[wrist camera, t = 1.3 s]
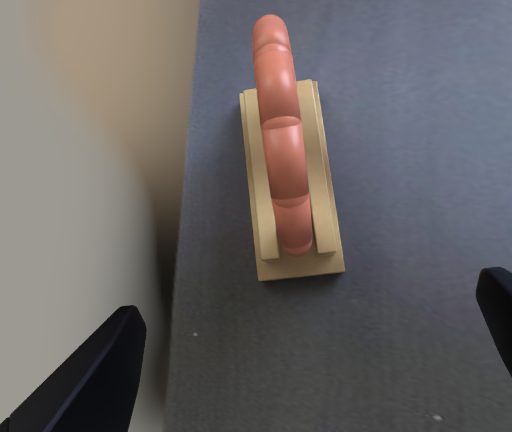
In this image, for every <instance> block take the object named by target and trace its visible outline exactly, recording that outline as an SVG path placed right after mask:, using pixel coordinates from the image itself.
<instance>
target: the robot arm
mask: <svg viewBox="0 0 512 432" xmlns="http://www.w3.org/2000/svg"><path fill="white" fill-rule="evenodd" d="M476 299H477V302H478V304H479V307H480V309H481V312H482V314H483V316H484V319H485V321H486V323H487V326H488V328H489V330H490V333H491V335H492V338H493V340H494V342H495V345H496V347H497V349H498V352H499V354H500V356H501V358H502V360H503V362H504V364H505V366H506V367H507V369H508V371H509V373H510V375H511V376H512V273H511V272H509V271H507V270H506V269H504V268H501V267H491V268H484V269H482V270H481V272H480V275H479V279H478V284H477V288H476ZM145 340H146V325H145V322H144V320H143V318H142V316H141V314H140V312H139V310H138V308H137V307H136V306H134V305H130V306H122V307H120V308H119V309H117V310H116V311H115V312H114V313H113V314H112V315H111V316H110V317H109V318H108V319H107V320H106V321H105V322H104V323H103V324H102V325H101V326H100V327H99V328H98V329H97V330H96V331H95V332H94V333H93V334H92V335H91V336H90V337H89V338H88V339H87V340H86V341H85V342H84V343H83V344H82V345H80V346H79V347H78V349H76V350H75V351H74V352H73V353H72V354H71V355H70V356H69V358H67V359H66V360H65V361H64V362H63V363H62V364H61V365H60V366H59V367H58V368H57V369H56V370H55V371H54V372H53V373H52V374H51V375H50V376H49V377H48V378H47V379H46V380H45V381H44V382H43V383H42V384H41V385H40V386H39V387H38V388H37V389H36V390H35V391H34V392H33V393H32V394H31V395H30V396H29V397H28V398H27V399H26V400H25V401H24V402H23V403H22V404H21V405H20V406H19V407H18V408H17V409H16V410H14V411H13V413H11V415H10V418H9V417H8V418H6V419H5V420H4V421H3V422H2V423H1V424H0V432H128V428H129V424H130V420H131V416H132V412H133V408H134V404H135V400H136V396H137V392H138V387H139V382H140V375H141V368H142V361H143V354H144V347H145Z"/></svg>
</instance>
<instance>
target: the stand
mask: <svg viewBox="0 0 512 432" xmlns="http://www.w3.org/2000/svg"><path fill="white" fill-rule="evenodd" d="M296 86H297V93H298V100H299V108H300V115H301V122H302V131H303V140H304V149H305V158H306V167H307V176H308V185H309V195H310V208H311V221H312V234H313V236H312V243H311V247H310V250H309V251H308V252H307V253H306V254H305V255H303V256H300V257H293V256H290V255H289V254H287V253H286V252H285V251H284V249H283V247H282V245H281V243H280V241H279V238H278V233H277V227H276V222H275V217H274V212H273V206H272V201H271V195H270V189H269V182H268V175H267V168H266V161H265V154H264V147H263V141H262V134H261V126H260V117H259V108H258V99H257V91H256V88H255V89H249V90H244V92H243V93H240V94H239V97H240V107H241V117H242V127H243V137H244V147H245V157H246V166H247V176H248V186H249V196H250V206H251V216H252V226H253V235H254V245H255V255H256V265H257V275H258V281H270V280H279V279H288V278H297V277H307V276H316V275H325V274H335V273H343V272H345V265H344V259H343V252H342V245H341V239H340V232H339V226H338V219H337V212H336V206H335V199H334V192H333V186H332V179H331V172H330V166H329V159H328V152H327V146H326V139H325V132H324V126H323V119H322V112H321V106H320V99H319V92H318V86H317V81H314V82H312V80H311V79H309V80H303V81H297V82H296Z"/></svg>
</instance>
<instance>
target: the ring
mask: <svg viewBox="0 0 512 432" xmlns="http://www.w3.org/2000/svg"><path fill="white" fill-rule="evenodd" d="M252 38H253V63H254V73H255V82H256V91H257V99H258V108H259V117H260V126H261V134H262V141H263V147H264V154H265V161H266V168H267V175H268V182H269V189H270V195H271V201H272V206H273V212H274V217H275V222H276V227H277V233H278V238H279V241H280V243H281V245H282V247H283V249H284V251H285V252H286V253H287V254H289V255H290V256H293V257H300V256H303V255H305V254H306V253H307V252H308V251H309V250H310V247H311V243H312V236H313V234H312V221H311V208H310V195H309V185H308V176H307V167H306V158H305V149H304V140H303V131H302V122H301V115H300V108H299V100H298V93H297V86H296V79H295V71H294V64H293V57H292V52H291V47H290V42H289V37H288V32H287V27H286V25H285V23H284V22H283V20H282V19H281V18H279V17H278V16H275V15H266V16H263V17H261V18H260V19H259V20H258V21H257V22H256V24H255V25H254V28H253V33H252Z"/></svg>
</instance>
